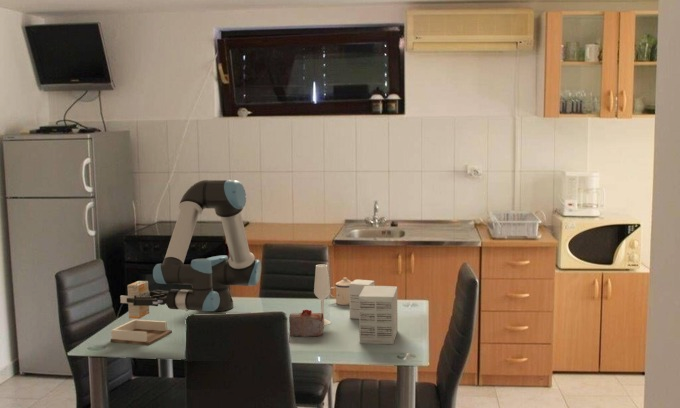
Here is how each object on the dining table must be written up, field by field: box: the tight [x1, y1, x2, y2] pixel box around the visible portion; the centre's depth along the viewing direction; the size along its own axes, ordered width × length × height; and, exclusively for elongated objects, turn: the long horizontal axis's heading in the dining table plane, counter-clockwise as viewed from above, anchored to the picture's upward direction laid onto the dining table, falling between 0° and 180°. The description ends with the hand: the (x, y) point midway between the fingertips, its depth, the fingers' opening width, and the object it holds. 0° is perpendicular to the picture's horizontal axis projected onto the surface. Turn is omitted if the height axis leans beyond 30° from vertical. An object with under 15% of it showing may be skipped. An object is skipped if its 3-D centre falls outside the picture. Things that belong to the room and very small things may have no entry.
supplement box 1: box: [127, 280, 150, 320], centre depth 267 cm, size 8×5×13 cm, turn 168°
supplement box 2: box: [348, 279, 376, 320], centre depth 292 cm, size 9×9×15 cm
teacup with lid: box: [329, 277, 353, 306], centre depth 315 cm, size 12×9×12 cm
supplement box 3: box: [358, 285, 398, 345], centre depth 263 cm, size 17×13×18 cm
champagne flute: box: [313, 263, 331, 326], centre depth 283 cm, size 7×7×24 cm
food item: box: [288, 309, 325, 338], centre depth 268 cm, size 14×8×10 cm, turn 89°
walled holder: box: [110, 318, 173, 346], centre depth 269 cm, size 17×16×4 cm
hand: (128, 296), depth 269 cm, fingers closed on supplement box 1, 8 cm apart
